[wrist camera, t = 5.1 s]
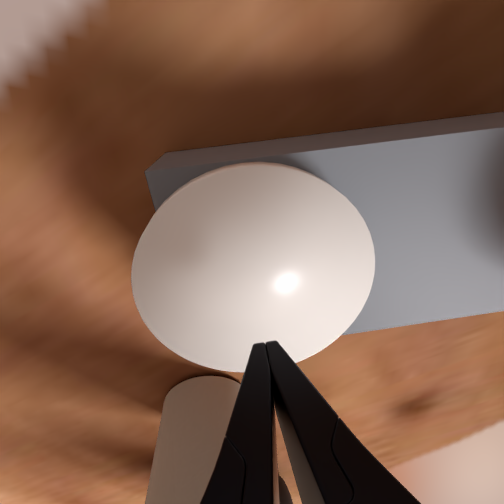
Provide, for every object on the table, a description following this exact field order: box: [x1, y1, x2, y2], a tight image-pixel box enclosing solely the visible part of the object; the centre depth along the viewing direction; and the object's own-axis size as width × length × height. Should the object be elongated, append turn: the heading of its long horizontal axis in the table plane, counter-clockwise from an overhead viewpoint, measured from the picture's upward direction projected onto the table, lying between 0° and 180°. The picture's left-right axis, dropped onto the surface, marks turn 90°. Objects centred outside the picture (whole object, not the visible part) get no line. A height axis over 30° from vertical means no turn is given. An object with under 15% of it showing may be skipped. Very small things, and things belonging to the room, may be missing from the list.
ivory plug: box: [131, 162, 375, 372], centre depth 16 cm, size 11×11×6 cm
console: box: [145, 112, 504, 335], centre depth 17 cm, size 28×11×5 cm, turn 96°
